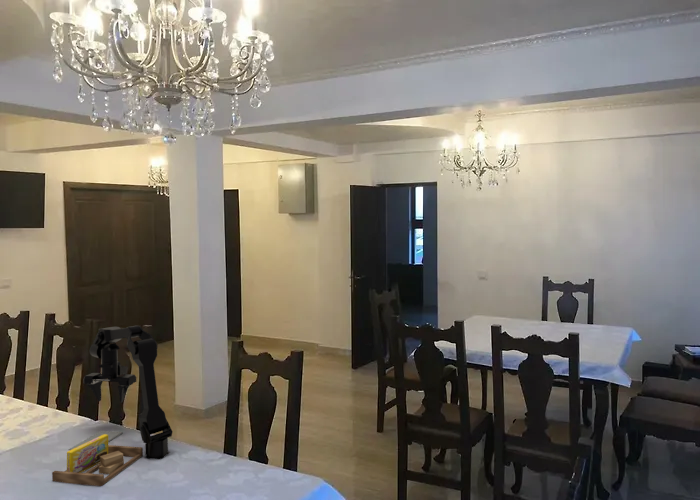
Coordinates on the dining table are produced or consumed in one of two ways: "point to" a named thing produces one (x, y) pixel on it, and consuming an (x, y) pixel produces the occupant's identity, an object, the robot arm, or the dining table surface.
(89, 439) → the pad
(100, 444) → the candy box
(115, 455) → the offcut upper
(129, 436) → the dining table surface
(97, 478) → the rack
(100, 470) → the offcut lower
